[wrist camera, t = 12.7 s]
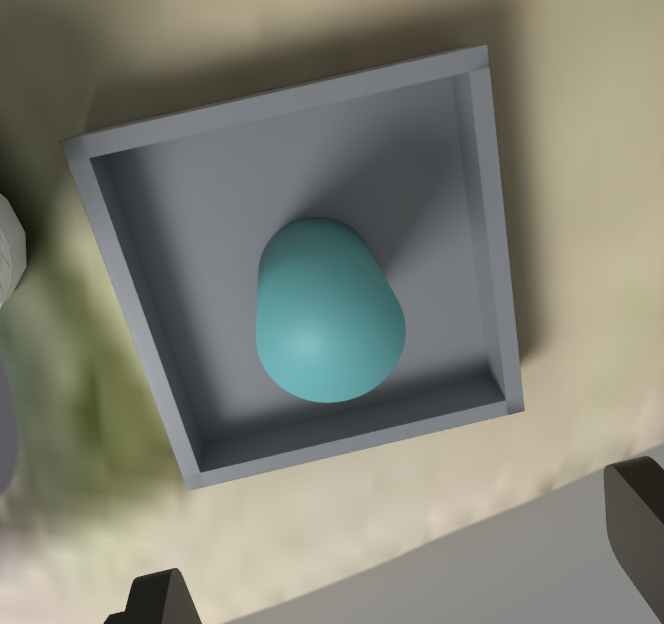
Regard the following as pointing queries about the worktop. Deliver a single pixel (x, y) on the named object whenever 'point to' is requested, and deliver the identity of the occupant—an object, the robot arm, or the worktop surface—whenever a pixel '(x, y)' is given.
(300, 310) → the teal capsule
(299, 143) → the tray
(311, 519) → the worktop surface
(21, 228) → the white cup
